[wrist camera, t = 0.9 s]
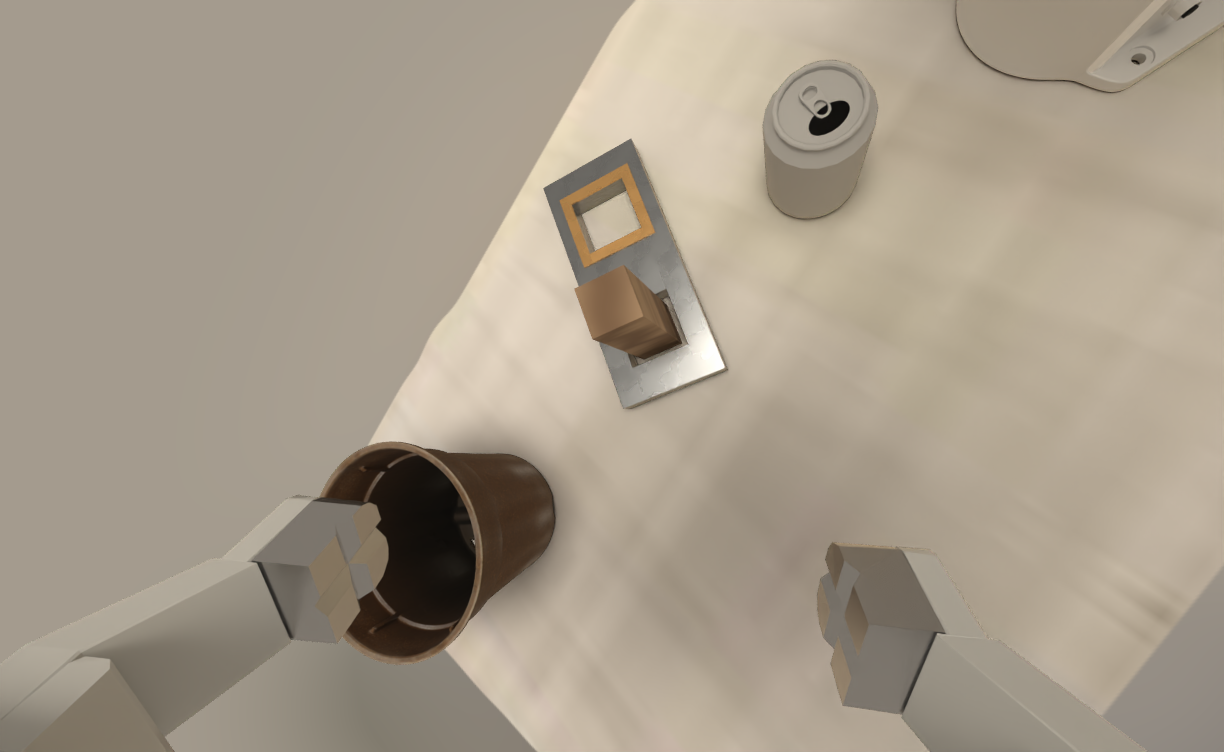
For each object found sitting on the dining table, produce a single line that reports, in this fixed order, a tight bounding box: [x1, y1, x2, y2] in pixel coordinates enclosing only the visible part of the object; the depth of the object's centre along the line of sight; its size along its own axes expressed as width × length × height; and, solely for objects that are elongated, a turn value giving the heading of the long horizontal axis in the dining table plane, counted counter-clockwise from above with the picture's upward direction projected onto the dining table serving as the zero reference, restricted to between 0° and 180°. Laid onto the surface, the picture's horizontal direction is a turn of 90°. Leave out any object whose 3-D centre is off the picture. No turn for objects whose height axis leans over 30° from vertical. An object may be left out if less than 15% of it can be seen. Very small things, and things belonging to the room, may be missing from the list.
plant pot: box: [319, 442, 555, 665], centre depth 45 cm, size 16×16×16 cm
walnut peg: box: [575, 265, 682, 359], centre depth 42 cm, size 4×4×14 cm
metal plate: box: [543, 139, 728, 409], centre depth 48 cm, size 10×24×3 cm, turn 22°
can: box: [763, 60, 878, 219], centre depth 39 cm, size 8×8×12 cm
